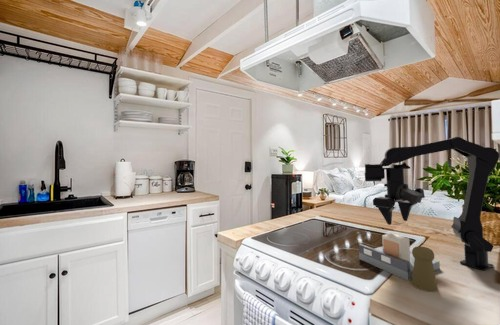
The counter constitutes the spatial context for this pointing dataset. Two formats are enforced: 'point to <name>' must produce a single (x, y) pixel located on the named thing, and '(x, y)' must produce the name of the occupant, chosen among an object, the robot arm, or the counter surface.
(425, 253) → the olive pawn
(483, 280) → the counter surface
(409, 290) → the counter surface
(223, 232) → the counter surface
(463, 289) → the counter surface
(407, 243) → the tea box
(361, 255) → the shelf
